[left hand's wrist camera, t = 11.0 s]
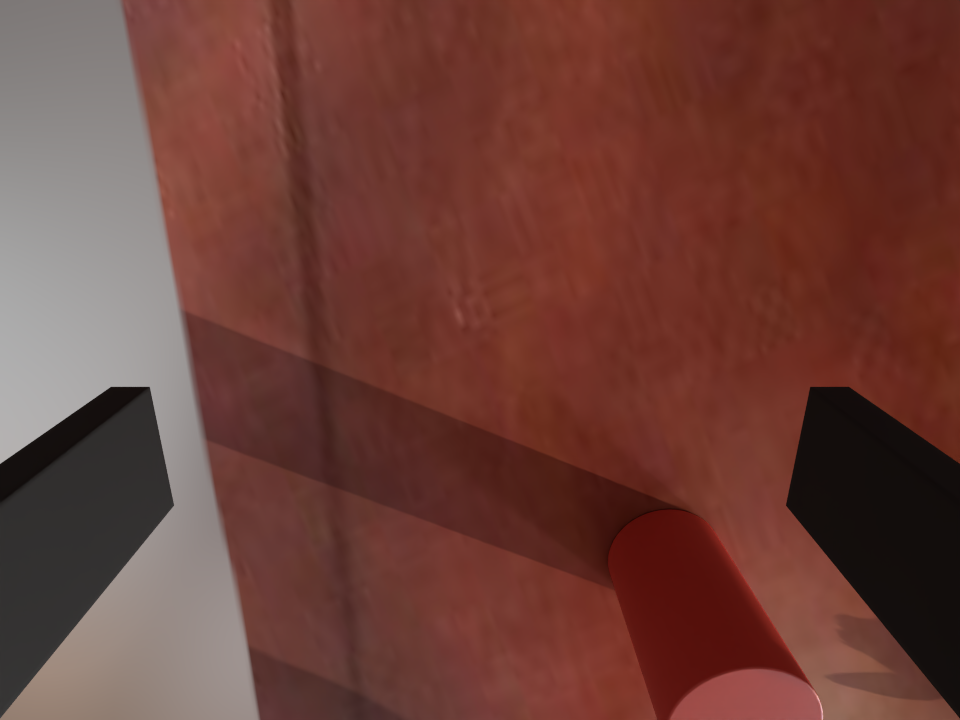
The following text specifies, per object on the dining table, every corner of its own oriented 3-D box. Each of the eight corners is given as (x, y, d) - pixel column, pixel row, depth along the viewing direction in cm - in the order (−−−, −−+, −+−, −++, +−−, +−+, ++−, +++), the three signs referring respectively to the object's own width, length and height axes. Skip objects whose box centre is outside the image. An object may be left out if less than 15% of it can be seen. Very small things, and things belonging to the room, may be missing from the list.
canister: (677, 617, 40) (759, 803, 29) (586, 576, 39) (634, 753, 28) (741, 536, 38) (856, 703, 27) (647, 491, 37) (726, 644, 26)
